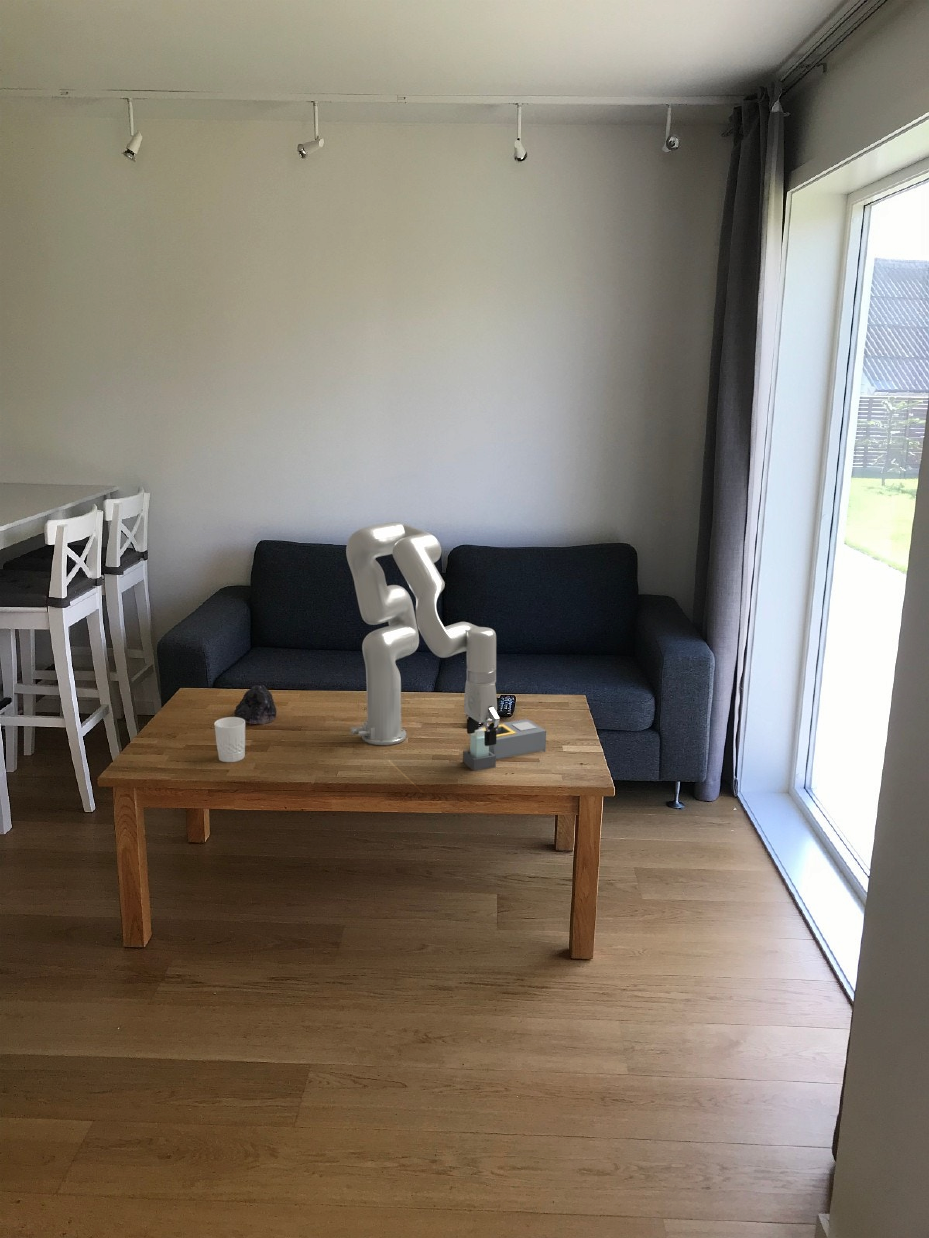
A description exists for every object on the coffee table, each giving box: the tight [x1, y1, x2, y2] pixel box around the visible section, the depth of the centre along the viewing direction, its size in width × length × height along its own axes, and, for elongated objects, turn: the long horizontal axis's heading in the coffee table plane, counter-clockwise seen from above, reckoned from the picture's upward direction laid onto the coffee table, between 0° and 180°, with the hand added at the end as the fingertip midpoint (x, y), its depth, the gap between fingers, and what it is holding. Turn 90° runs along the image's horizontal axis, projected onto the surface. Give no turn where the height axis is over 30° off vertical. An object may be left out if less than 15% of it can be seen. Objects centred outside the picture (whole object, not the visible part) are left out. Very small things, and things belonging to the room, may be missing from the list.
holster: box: [462, 749, 497, 772], centre depth 242 cm, size 6×6×4 cm
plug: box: [469, 729, 489, 759], centre depth 241 cm, size 4×4×10 cm
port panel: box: [479, 718, 547, 760], centre depth 253 cm, size 16×10×6 cm, turn 117°
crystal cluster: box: [234, 684, 277, 725], centre depth 274 cm, size 13×14×10 cm
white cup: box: [213, 716, 246, 763], centre depth 244 cm, size 8×8×10 cm
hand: (481, 738), depth 240 cm, fingers open, 9 cm apart
